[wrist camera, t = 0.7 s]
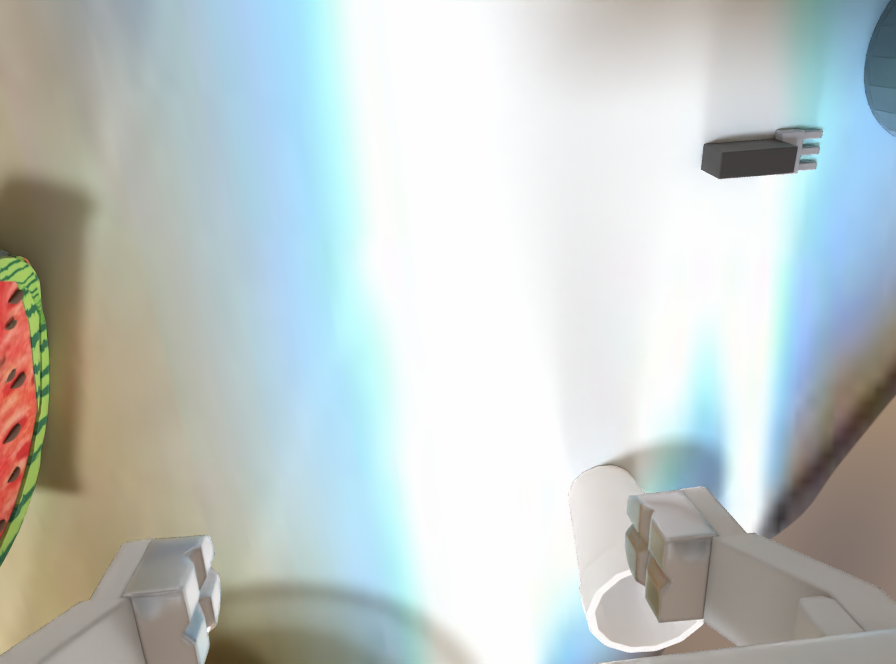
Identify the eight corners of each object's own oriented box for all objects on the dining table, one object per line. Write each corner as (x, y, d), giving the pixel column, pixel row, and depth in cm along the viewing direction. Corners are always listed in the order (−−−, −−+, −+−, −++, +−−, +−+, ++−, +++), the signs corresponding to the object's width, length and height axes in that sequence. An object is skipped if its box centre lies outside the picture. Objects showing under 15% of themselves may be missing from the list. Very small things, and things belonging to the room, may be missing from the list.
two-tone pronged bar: (699, 177, 47) (717, 188, 45) (704, 135, 46) (723, 143, 43) (809, 169, 47) (833, 178, 45) (817, 126, 46) (842, 133, 43)
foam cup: (672, 470, 59) (738, 583, 48) (619, 542, 63) (668, 663, 51) (582, 438, 57) (628, 547, 45) (533, 514, 60) (564, 634, 49)
